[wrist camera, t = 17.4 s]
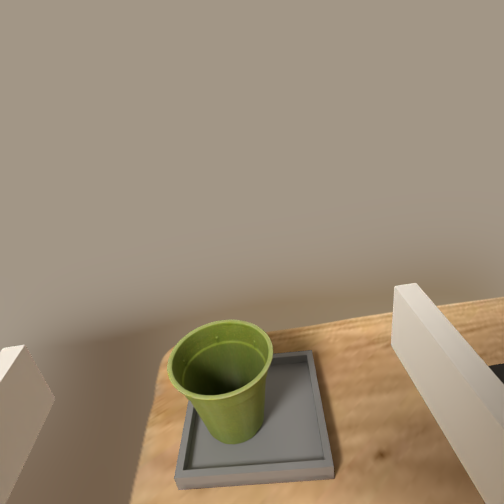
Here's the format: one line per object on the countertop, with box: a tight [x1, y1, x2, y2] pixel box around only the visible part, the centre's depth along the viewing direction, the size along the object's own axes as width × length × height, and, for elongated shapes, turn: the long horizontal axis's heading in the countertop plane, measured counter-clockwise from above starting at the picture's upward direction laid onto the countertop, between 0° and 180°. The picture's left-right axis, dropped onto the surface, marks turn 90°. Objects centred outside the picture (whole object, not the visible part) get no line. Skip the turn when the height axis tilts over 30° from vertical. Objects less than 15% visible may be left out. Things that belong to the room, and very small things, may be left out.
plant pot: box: [167, 320, 273, 444], centre depth 44 cm, size 12×12×11 cm
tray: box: [174, 350, 334, 490], centre depth 47 cm, size 17×17×2 cm
